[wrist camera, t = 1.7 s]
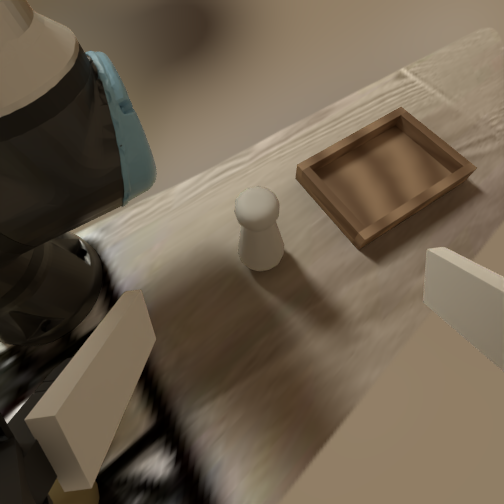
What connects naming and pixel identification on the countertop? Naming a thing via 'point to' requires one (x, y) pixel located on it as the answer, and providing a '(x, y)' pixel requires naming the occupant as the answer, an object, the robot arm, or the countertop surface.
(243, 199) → the salt shaker
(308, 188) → the walnut tray
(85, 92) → the robot arm
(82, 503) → the squeeze bottle
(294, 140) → the countertop surface
